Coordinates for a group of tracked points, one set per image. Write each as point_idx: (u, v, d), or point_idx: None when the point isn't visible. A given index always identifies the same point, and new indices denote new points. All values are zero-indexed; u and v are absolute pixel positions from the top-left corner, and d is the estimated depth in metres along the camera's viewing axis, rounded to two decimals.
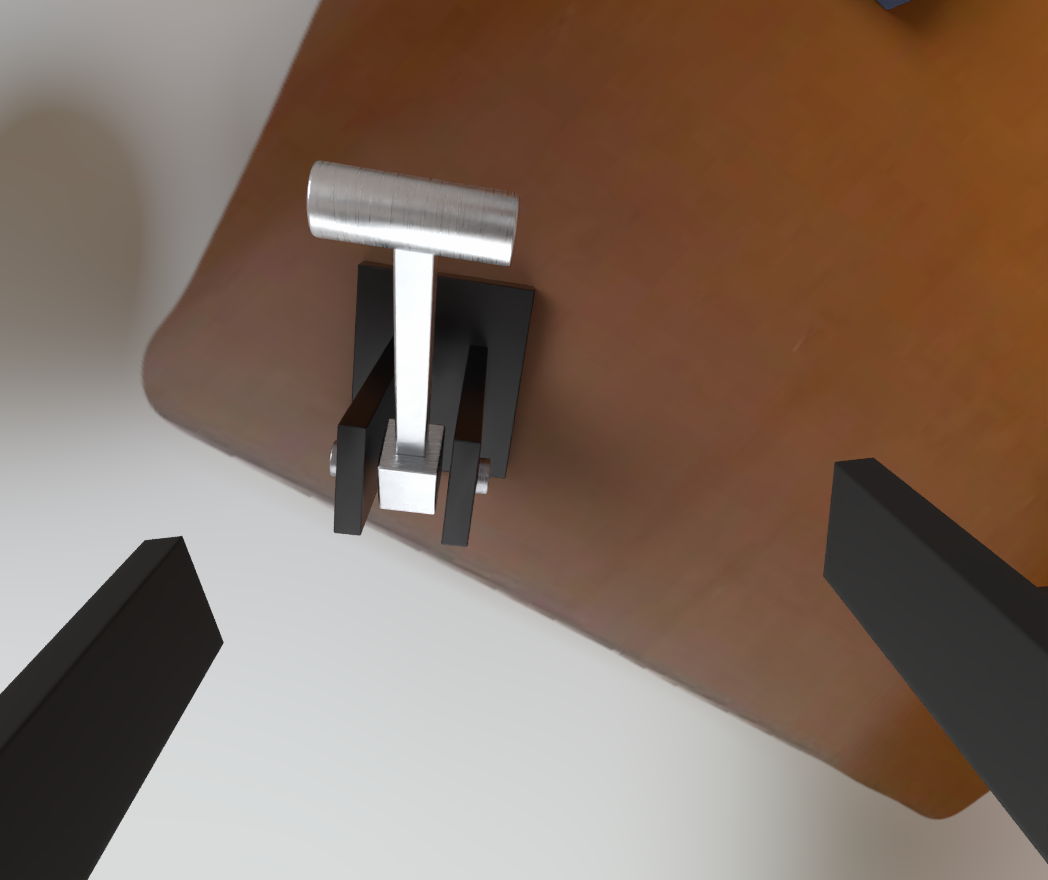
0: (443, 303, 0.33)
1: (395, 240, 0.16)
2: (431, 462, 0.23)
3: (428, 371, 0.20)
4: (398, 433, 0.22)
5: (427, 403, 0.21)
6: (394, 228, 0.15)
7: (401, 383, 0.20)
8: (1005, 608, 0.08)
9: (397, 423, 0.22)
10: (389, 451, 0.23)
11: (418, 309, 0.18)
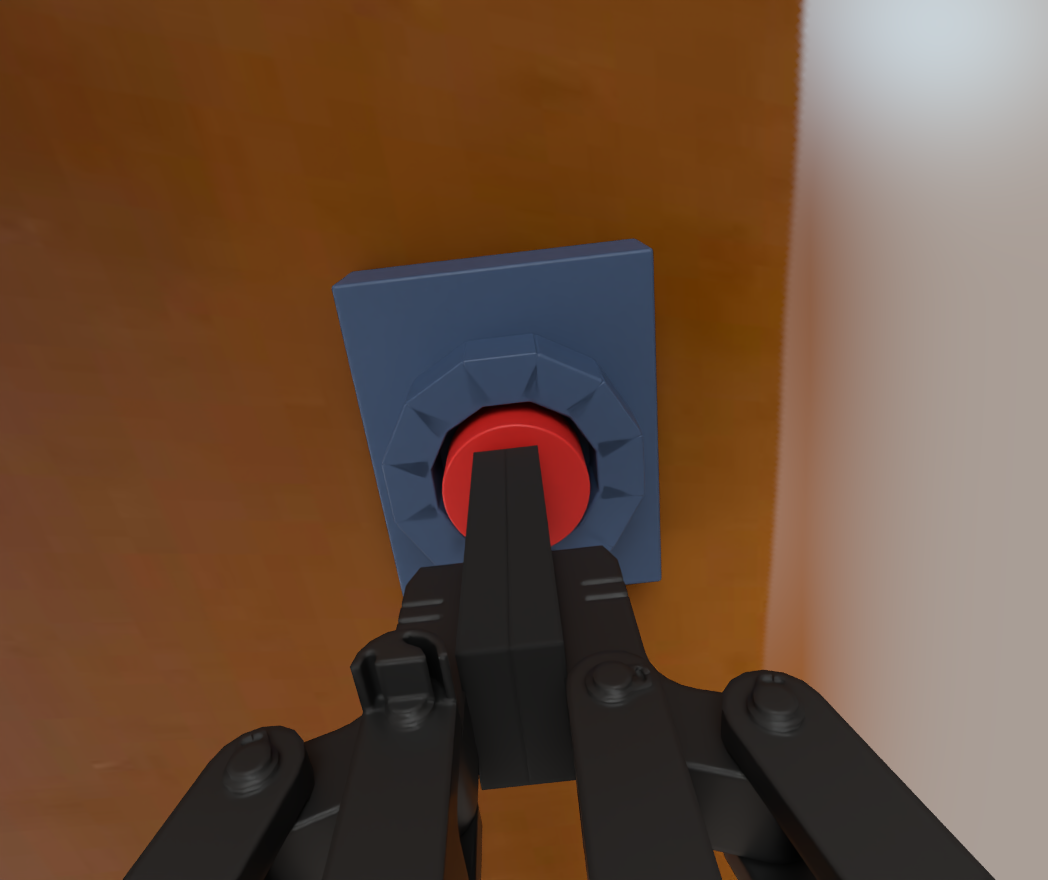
0: None
1: None
2: None
3: None
4: None
5: None
6: None
7: None
8: (513, 558, 0.10)
9: None
10: None
11: None
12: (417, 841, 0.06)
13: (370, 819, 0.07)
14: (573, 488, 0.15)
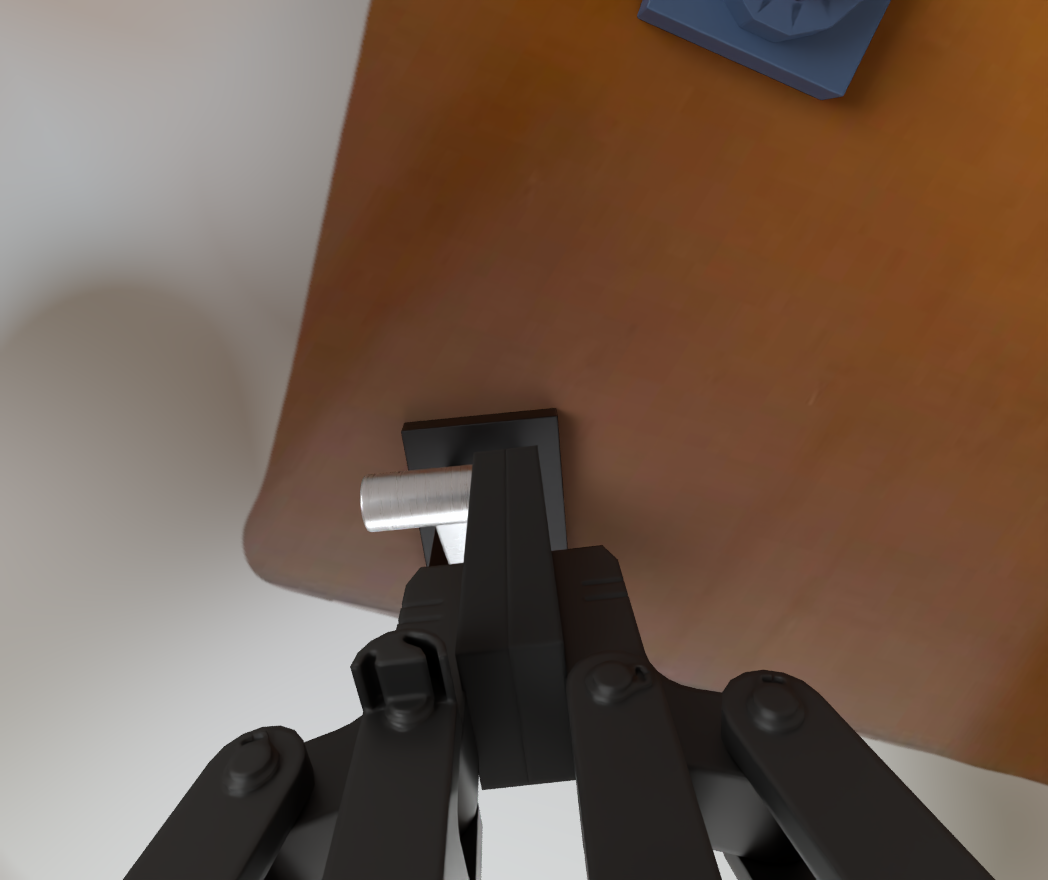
0: (480, 444, 0.37)
1: (434, 523, 0.20)
2: None
3: None
4: None
5: None
6: (432, 518, 0.19)
7: None
8: (513, 558, 0.10)
9: None
10: None
11: (463, 548, 0.22)
12: (417, 841, 0.06)
13: (370, 821, 0.07)
14: None
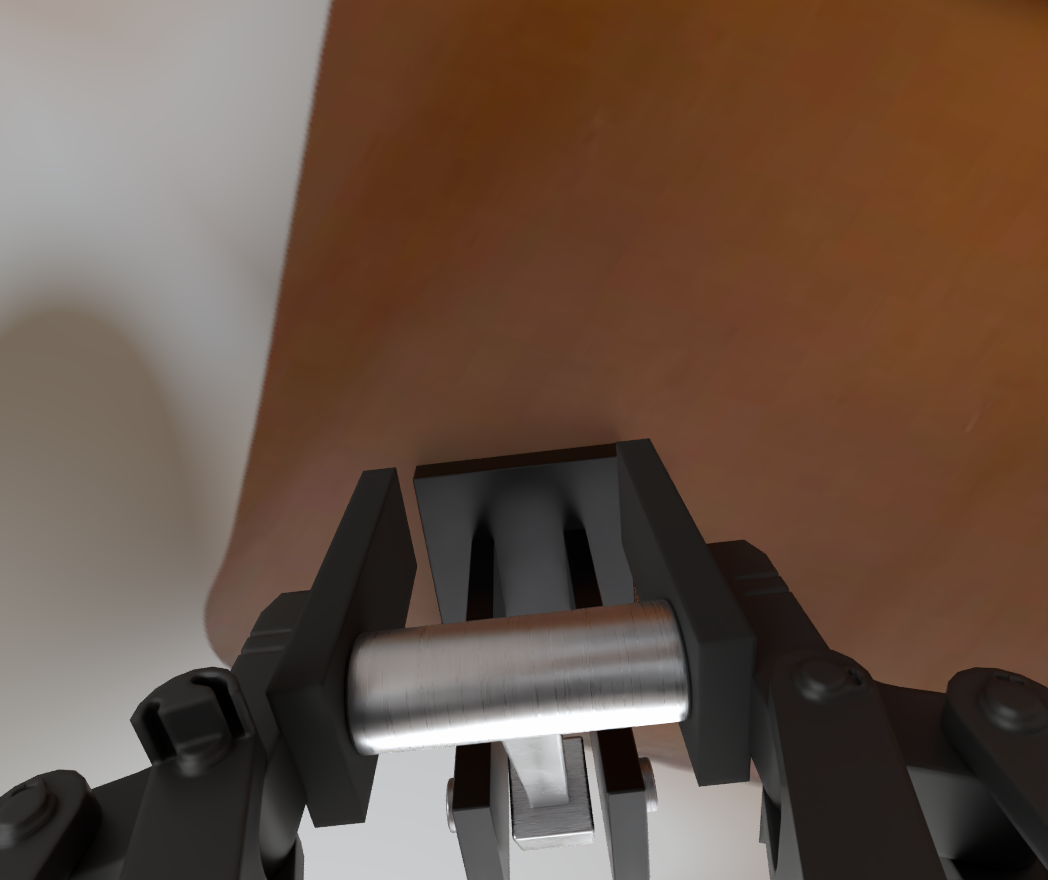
0: (521, 494, 0.27)
1: None
2: (581, 810, 0.17)
3: (564, 769, 0.14)
4: (532, 800, 0.16)
5: (566, 781, 0.15)
6: (494, 734, 0.09)
7: (529, 781, 0.14)
8: (668, 553, 0.10)
9: (529, 797, 0.16)
10: (522, 805, 0.17)
11: (541, 746, 0.12)
12: None
13: (157, 873, 0.06)
14: None
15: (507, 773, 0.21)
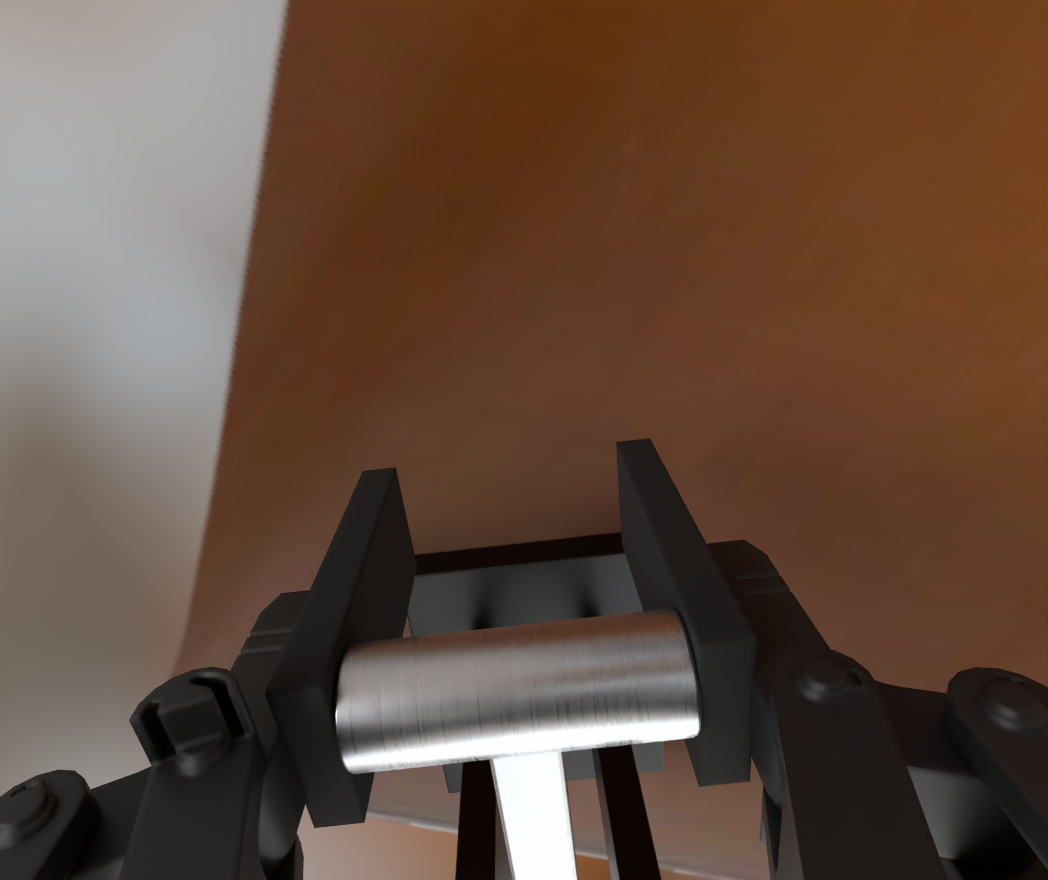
0: (530, 594, 0.22)
1: (492, 751, 0.09)
2: None
3: None
4: None
5: None
6: (488, 735, 0.09)
7: None
8: (668, 553, 0.10)
9: None
10: None
11: (547, 832, 0.10)
12: None
13: (156, 874, 0.06)
14: None
15: None
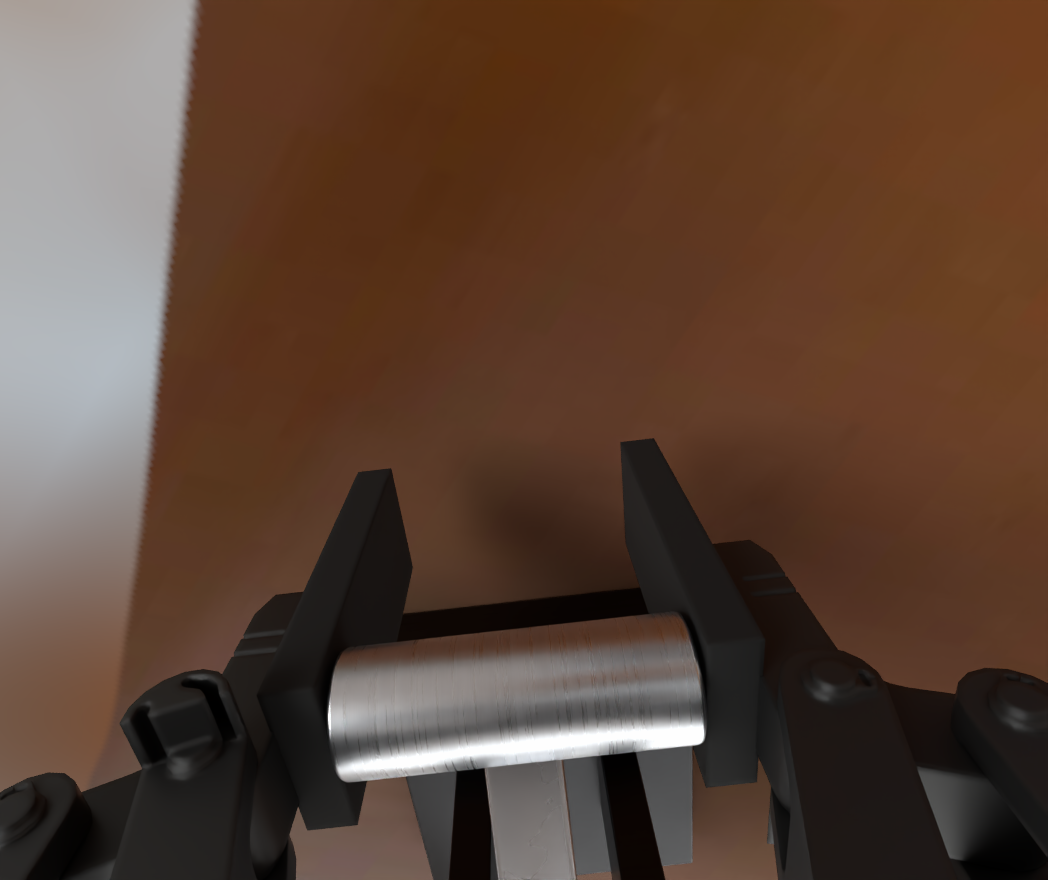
0: None
1: (488, 745, 0.08)
2: None
3: None
4: None
5: None
6: (483, 721, 0.08)
7: None
8: (674, 553, 0.10)
9: None
10: None
11: None
12: None
13: (146, 877, 0.06)
14: None
15: None
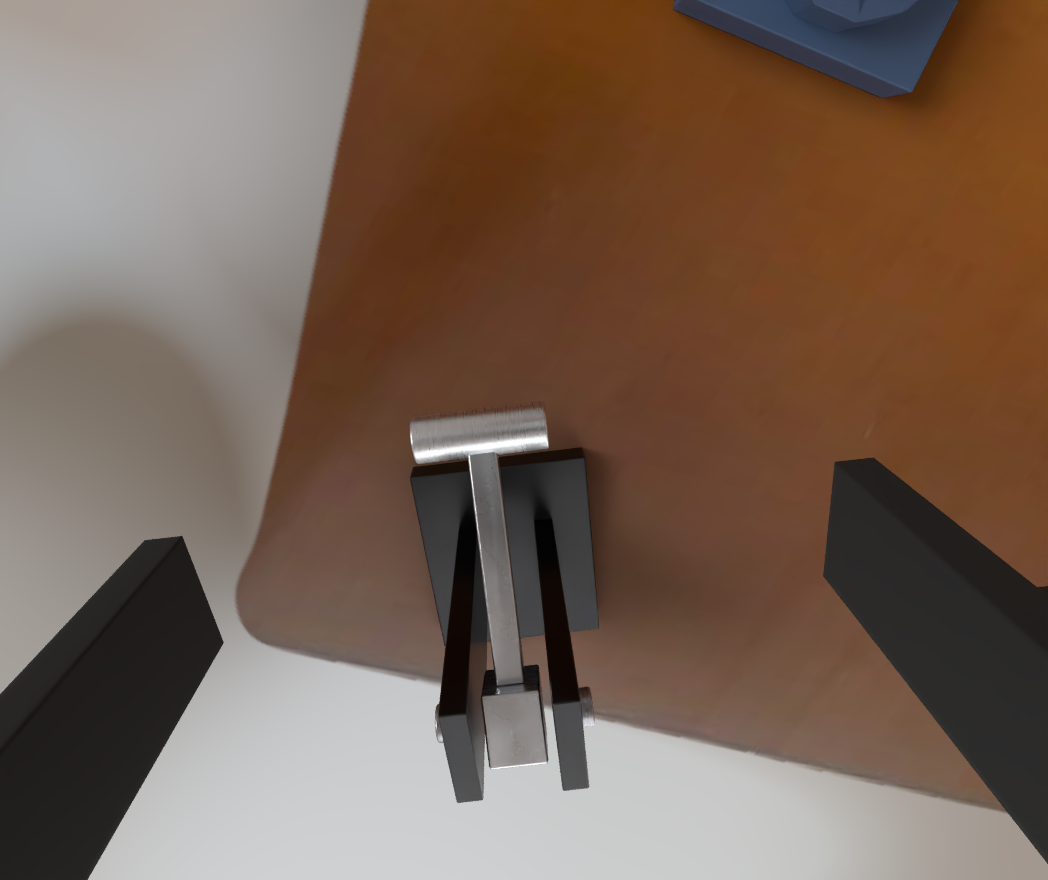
0: None
1: (468, 442, 0.23)
2: (532, 685, 0.24)
3: (509, 566, 0.24)
4: (495, 654, 0.24)
5: (515, 606, 0.24)
6: (467, 432, 0.23)
7: (490, 587, 0.24)
8: (1005, 608, 0.08)
9: (492, 640, 0.24)
10: (490, 686, 0.24)
11: (492, 503, 0.23)
12: None
13: None
14: None
15: None
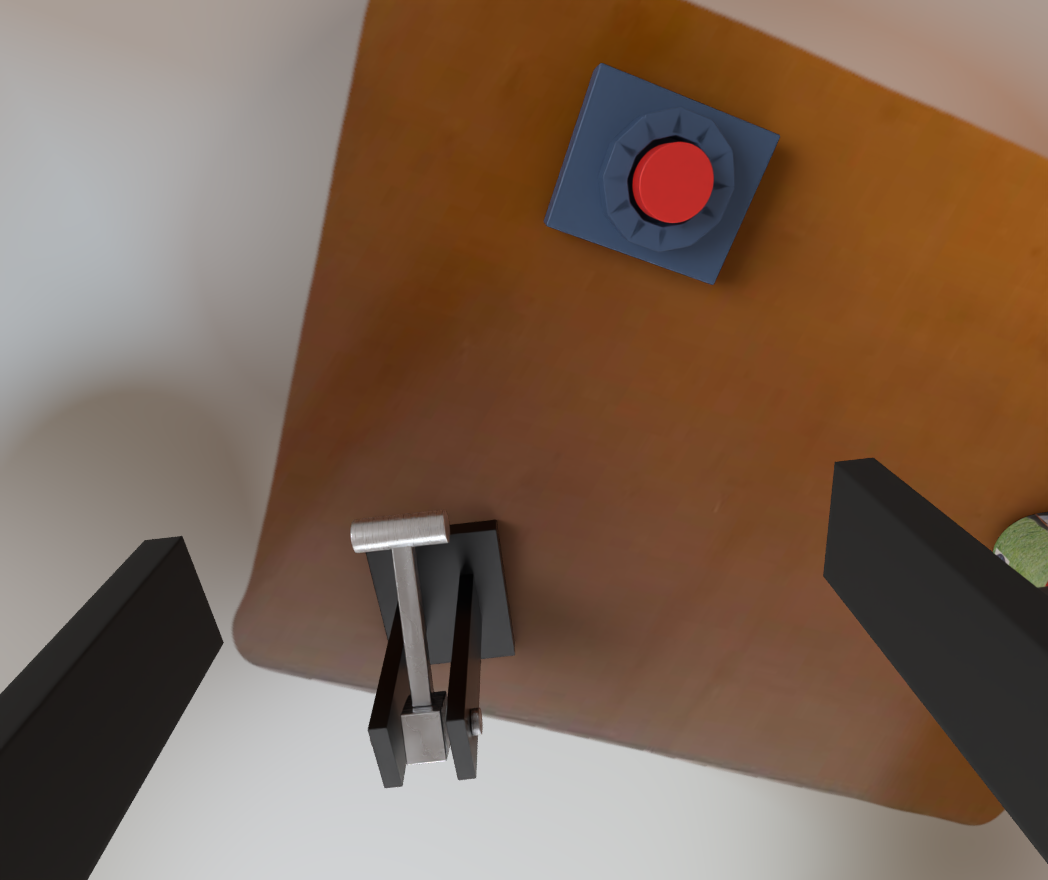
0: (432, 553, 0.43)
1: (391, 540, 0.33)
2: (436, 706, 0.34)
3: (421, 624, 0.34)
4: (411, 685, 0.34)
5: (425, 652, 0.34)
6: (389, 533, 0.33)
7: (407, 639, 0.34)
8: (1005, 608, 0.08)
9: (409, 675, 0.34)
10: (408, 707, 0.34)
11: (408, 581, 0.34)
12: None
13: None
14: (689, 153, 0.30)
15: None
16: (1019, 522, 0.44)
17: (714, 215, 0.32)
